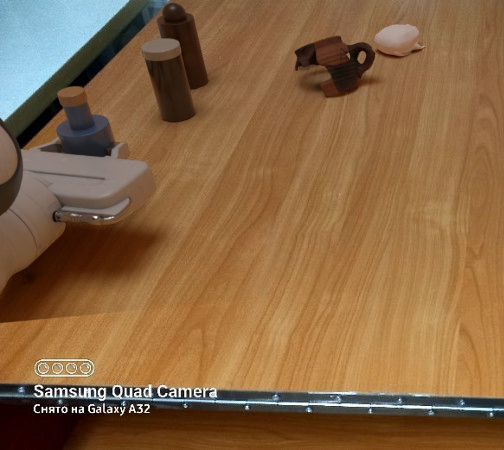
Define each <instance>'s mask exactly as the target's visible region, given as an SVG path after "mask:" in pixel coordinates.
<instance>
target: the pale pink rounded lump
mask: <svg viewBox="0 0 504 450" xmlns="http://www.w3.org/2000/svg"><path fill="white" fill-rule="evenodd" d="M420 37H421V32H420V31H419V29H418V27H417V26H416V25H411V24H409V23H406V24H391V25H388V26H385V27H384V28H382V29H381V30H379V31H378V32H377V33H376V34H375V36H374V39H373V43H374V45H373V46H374V47H375V48H376V49H377V50H378V51H380V52H381V53H384V54H385V55H393V56H397V57H405V56H408V55H411V54H412V52H413V51H414V50H423V49H425V48H426V47H427V45H420V44H419V40H420Z"/></svg>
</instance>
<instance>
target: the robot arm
mask: <svg viewBox="0 0 504 450" xmlns="http://www.w3.org/2000/svg"><path fill="white" fill-rule="evenodd" d="M106 151H107V153H108V154H109V156H105V157H95V156H84V155H74V154H65V153H64V151H63V148H62V145H61V143H60V140H59V137H58V136H57V137H56V138H54V139H53V140H52V141H50V142H46V143H43V144H39V145H37V146H32V147H30V148H29V149H22V148H21V147H20V144H19V143H18V140H17V138H16V136H15V134H14V133H13V131H12V130H11V129H10V128H9V126H8V124H7V123H6V122H5V121H4V120H3V119H2V117H0V293H2V292H3V290H4V289H5V287H6V286H7V283H8V281H9V280H10V278H11V277H13V275H15V274H16V273H19V272H21V271H22V270H25V269H26V268H28V267H29V266H31V265H32V263H33V262H34V261H36V260H37V259H38V258H39V257H40V256H41V255H42V254H43V253H44V252H45V251H46V250H47V249H49V248H50V246H52V245H53V243H55V242H56V241H57V240H58V239H59V238H60V237H61V236H62V235H63V233H64V232H65V230H66V227H67V226H66V225H67V224H83V225H87V226H91V227H92V226H95V227H97V226H107V225H113V224H116V223H119V222H121V221H123V220H125V219H126V218H128V217H129V216H130V215H132V214H134V212H136V211H137V210H139V209H140V208H141V207H142V206H143V205H145V204H146V203H147V202H148V201H149V200H150V199H151V198H152V197H153V196H154V195H155V194H156V191H157V185H156V181H155V180H156V179H155V177H154V174H153V172H152V169H151V168H150V165H149V164H148V162H146V161H144V160H136V159H135V160H134V159H128V158H129V157H130V155H131V151H130V148H129V144H128V143H127V142H124V141H123V142H122V141H116V142H112V143H111V144H110V145H108V146H107V147H106Z"/></svg>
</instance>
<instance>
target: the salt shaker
mask: <svg viewBox="0 0 504 450" xmlns="http://www.w3.org/2000/svg"><path fill="white" fill-rule="evenodd" d="M140 50H141V54H142V56H143V59H144V61H145V65H146V69H147V72H148V76H149V79H150V82H151V86H152V90H153V93H154V94H153V95H154V96H155V100H156V104H157V107H158V111H159V114H160V118H161V119H162V121H166V122H170V123H171V122H172V123H177V122H184V121H186V120H189V119H191V118H192V117H194V116H195V114H196V113H197V112H196V107H195V102H194V98H193V95H192V89H190V86H189V82H188V78H187V74H186V70H185V66H184V62H183V58H182V54H181V47H180V43H179V41H177V40H175V39H161V38H157V39H152V40H149V41H147V42H144V43H143V44H141V46H140Z"/></svg>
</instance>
